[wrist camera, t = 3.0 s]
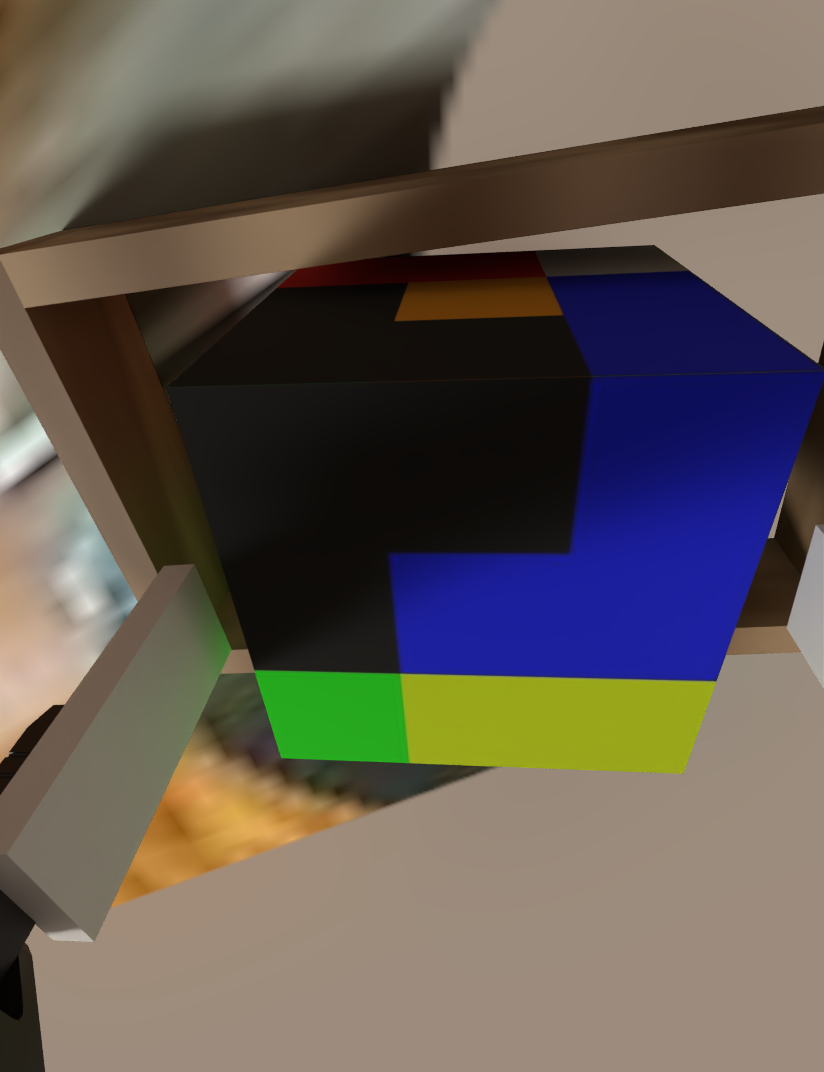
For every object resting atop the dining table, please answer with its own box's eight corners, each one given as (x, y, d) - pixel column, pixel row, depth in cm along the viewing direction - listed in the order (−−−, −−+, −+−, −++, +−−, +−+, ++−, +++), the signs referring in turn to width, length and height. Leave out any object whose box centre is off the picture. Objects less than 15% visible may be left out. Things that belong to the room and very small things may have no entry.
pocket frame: (219, 595, 26) (177, 675, 22) (60, 231, 18) (-47, 262, 14) (802, 561, 22) (866, 649, 19) (941, 86, 14) (1105, 77, 10)
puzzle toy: (654, 245, 17) (827, 370, 9) (606, 534, 22) (683, 773, 14) (307, 261, 18) (166, 387, 10) (347, 534, 23) (281, 758, 15)
